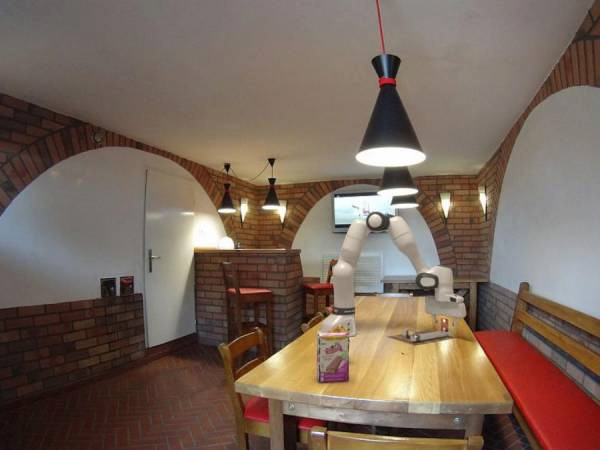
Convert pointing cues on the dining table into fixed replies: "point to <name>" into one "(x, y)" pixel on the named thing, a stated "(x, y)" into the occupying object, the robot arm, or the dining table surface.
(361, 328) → the dining table surface
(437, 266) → the robot arm
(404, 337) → the nutcracker base
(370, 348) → the dining table surface
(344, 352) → the candy bar box
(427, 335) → the lever
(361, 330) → the dining table surface
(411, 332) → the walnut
